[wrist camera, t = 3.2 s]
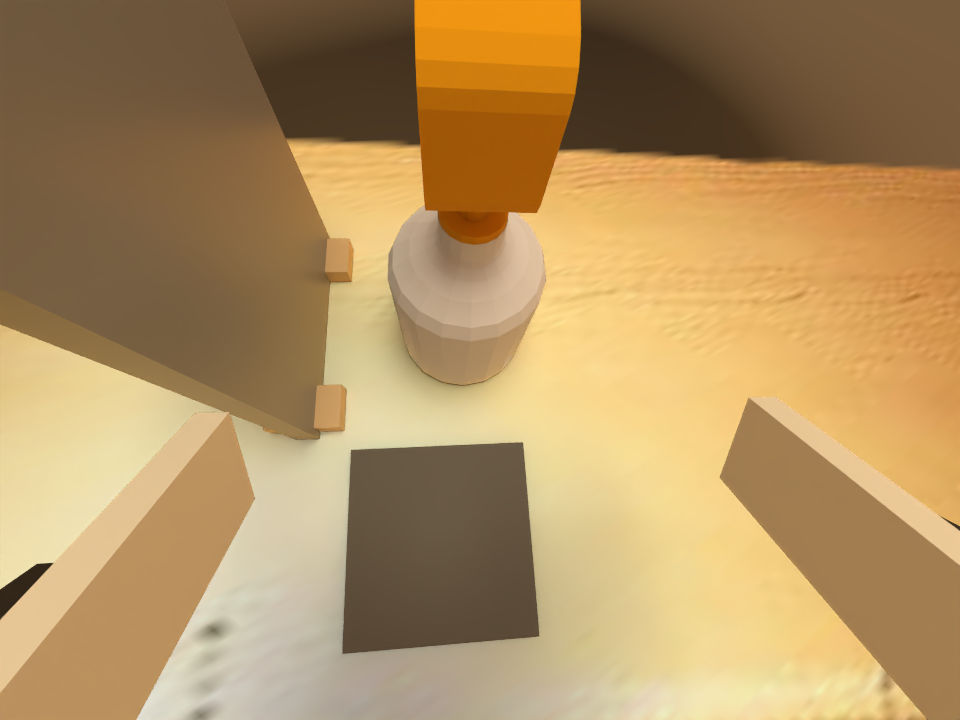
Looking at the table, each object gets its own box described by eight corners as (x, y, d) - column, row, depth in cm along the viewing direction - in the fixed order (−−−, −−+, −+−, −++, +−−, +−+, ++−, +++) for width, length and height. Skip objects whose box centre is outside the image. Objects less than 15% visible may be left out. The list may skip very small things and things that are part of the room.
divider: (271, 440, 29) (-980, 31, 4) (291, 244, 34) (-171, -516, 9) (344, 437, 30) (-299, 55, 4) (353, 244, 35) (91, -477, 9)
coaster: (345, 649, 26) (342, 653, 25) (353, 451, 29) (351, 450, 29) (536, 632, 27) (539, 636, 26) (521, 443, 30) (522, 442, 30)
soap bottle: (514, 280, 35) (653, -161, 11) (521, 386, 32) (726, 84, 9) (405, 279, 34) (319, -196, 11) (402, 387, 31) (277, 61, 8)
